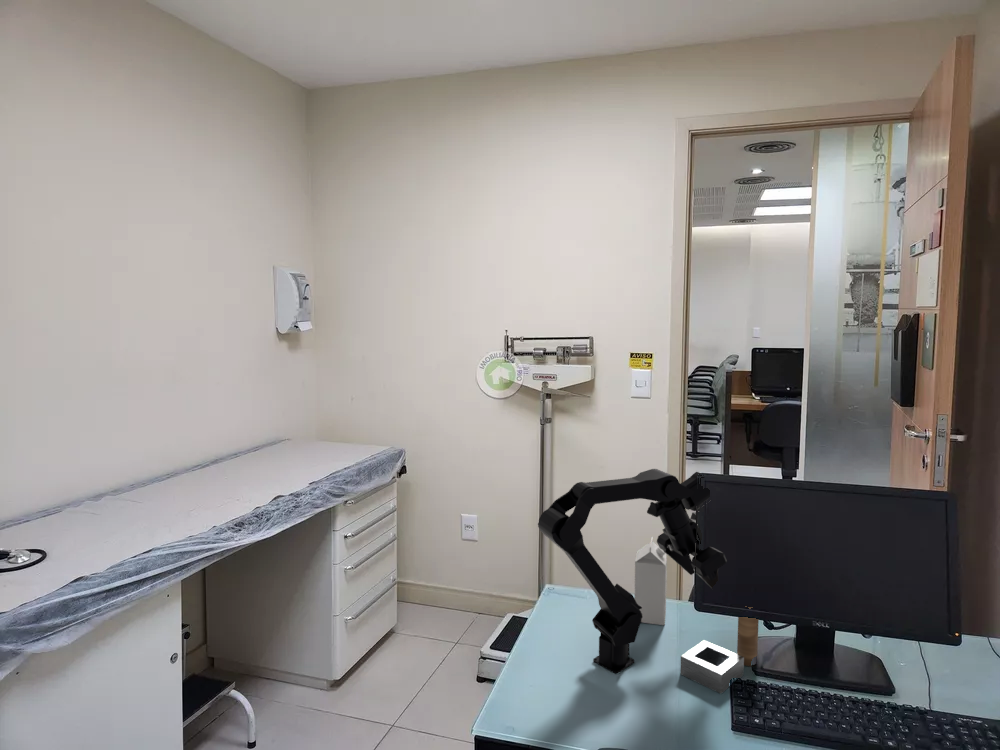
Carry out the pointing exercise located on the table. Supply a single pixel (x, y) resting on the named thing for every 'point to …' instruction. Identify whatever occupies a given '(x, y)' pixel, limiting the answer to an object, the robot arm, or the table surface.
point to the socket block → (711, 666)
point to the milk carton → (651, 583)
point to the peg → (747, 638)
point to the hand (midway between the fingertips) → (704, 581)
